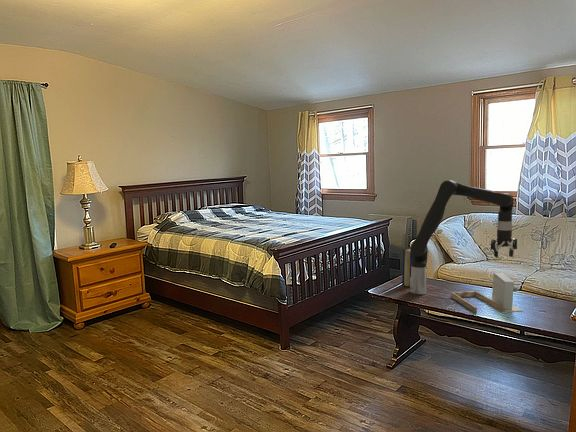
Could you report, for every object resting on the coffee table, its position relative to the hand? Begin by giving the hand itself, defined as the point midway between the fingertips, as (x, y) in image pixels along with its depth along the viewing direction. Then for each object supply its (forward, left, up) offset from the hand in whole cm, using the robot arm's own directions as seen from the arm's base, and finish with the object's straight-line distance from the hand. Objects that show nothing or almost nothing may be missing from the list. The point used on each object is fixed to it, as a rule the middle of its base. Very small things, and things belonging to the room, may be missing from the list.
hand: (503, 256), depth 248 cm
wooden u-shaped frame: (-14, +3, -28) cm, 31 cm away
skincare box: (0, 0, -28) cm, 28 cm away
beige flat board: (0, 0, -28) cm, 28 cm away
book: (-33, +50, -28) cm, 66 cm away
